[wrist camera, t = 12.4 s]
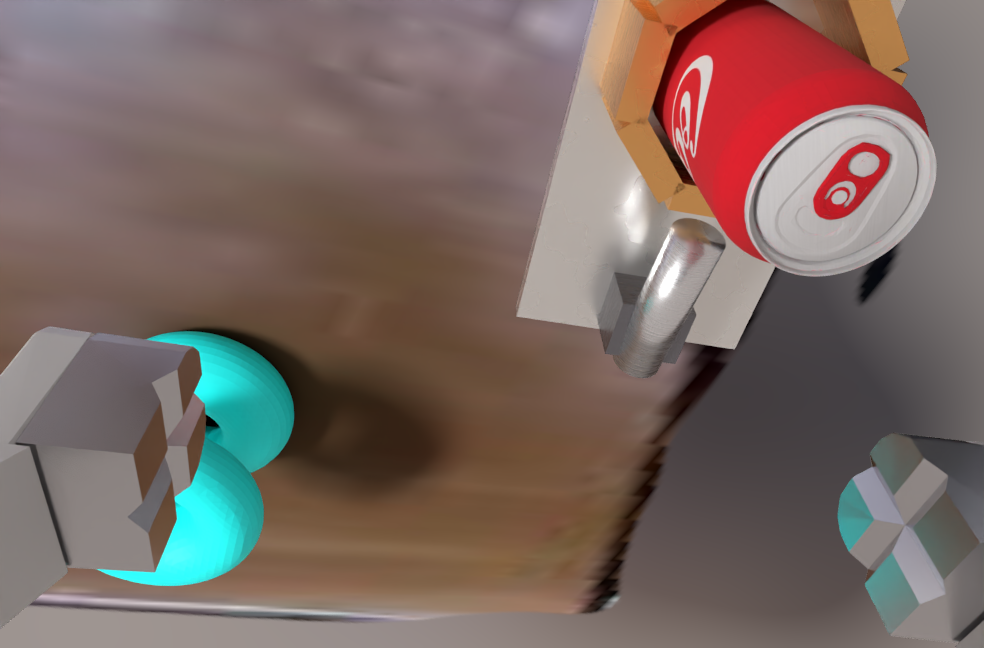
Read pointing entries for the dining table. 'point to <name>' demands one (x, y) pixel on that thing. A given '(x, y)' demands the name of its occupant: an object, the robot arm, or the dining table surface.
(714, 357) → the dining table surface
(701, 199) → the coupling base
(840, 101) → the beverage can
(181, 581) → the donuts
